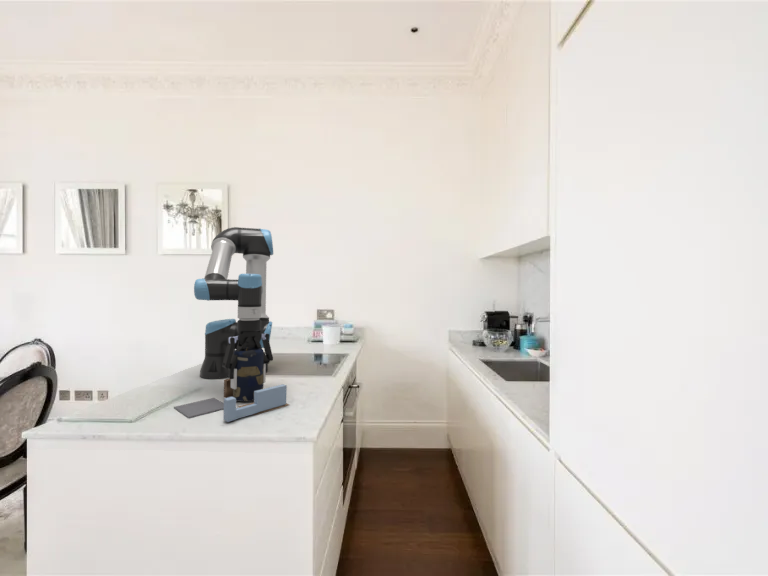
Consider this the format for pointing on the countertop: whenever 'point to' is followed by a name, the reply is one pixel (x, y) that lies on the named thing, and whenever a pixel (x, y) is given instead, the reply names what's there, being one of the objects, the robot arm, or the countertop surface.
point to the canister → (249, 373)
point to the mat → (200, 407)
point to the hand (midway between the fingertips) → (248, 385)
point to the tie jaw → (256, 402)
